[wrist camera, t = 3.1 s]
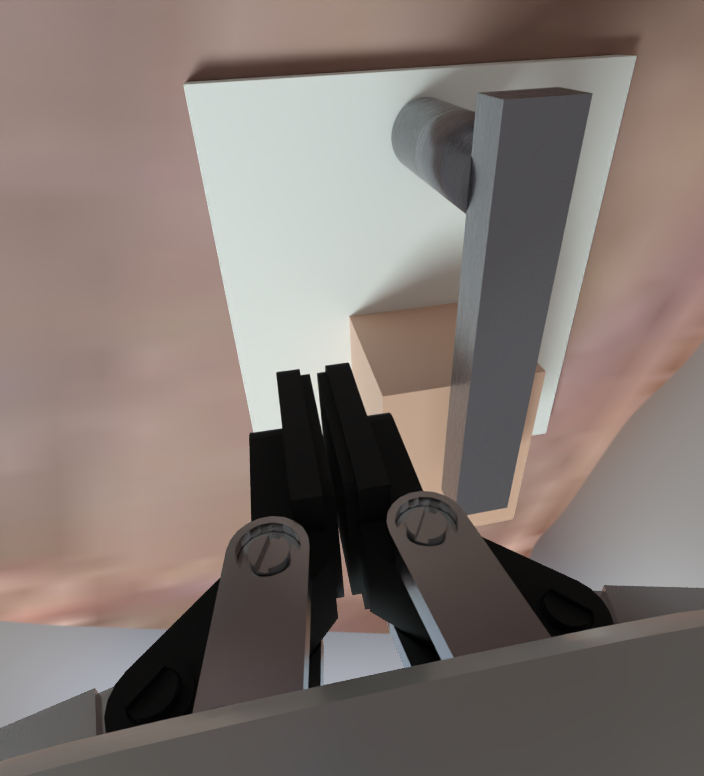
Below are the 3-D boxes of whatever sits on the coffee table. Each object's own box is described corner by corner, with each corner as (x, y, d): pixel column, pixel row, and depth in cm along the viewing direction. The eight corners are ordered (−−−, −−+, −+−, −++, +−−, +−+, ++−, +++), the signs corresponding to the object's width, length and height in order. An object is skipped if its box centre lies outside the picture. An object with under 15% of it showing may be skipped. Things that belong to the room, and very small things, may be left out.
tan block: (349, 316, 22) (382, 396, 17) (479, 299, 23) (545, 371, 18) (355, 451, 27) (383, 544, 22) (463, 433, 28) (513, 519, 23)
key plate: (185, 81, 17) (183, 84, 16) (619, 54, 19) (637, 55, 18) (262, 468, 28) (263, 481, 27) (537, 422, 30) (545, 433, 29)
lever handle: (391, 72, 17) (494, 100, 10) (460, 67, 17) (601, 92, 11) (390, 387, 25) (449, 518, 18) (437, 380, 25) (512, 506, 18)
